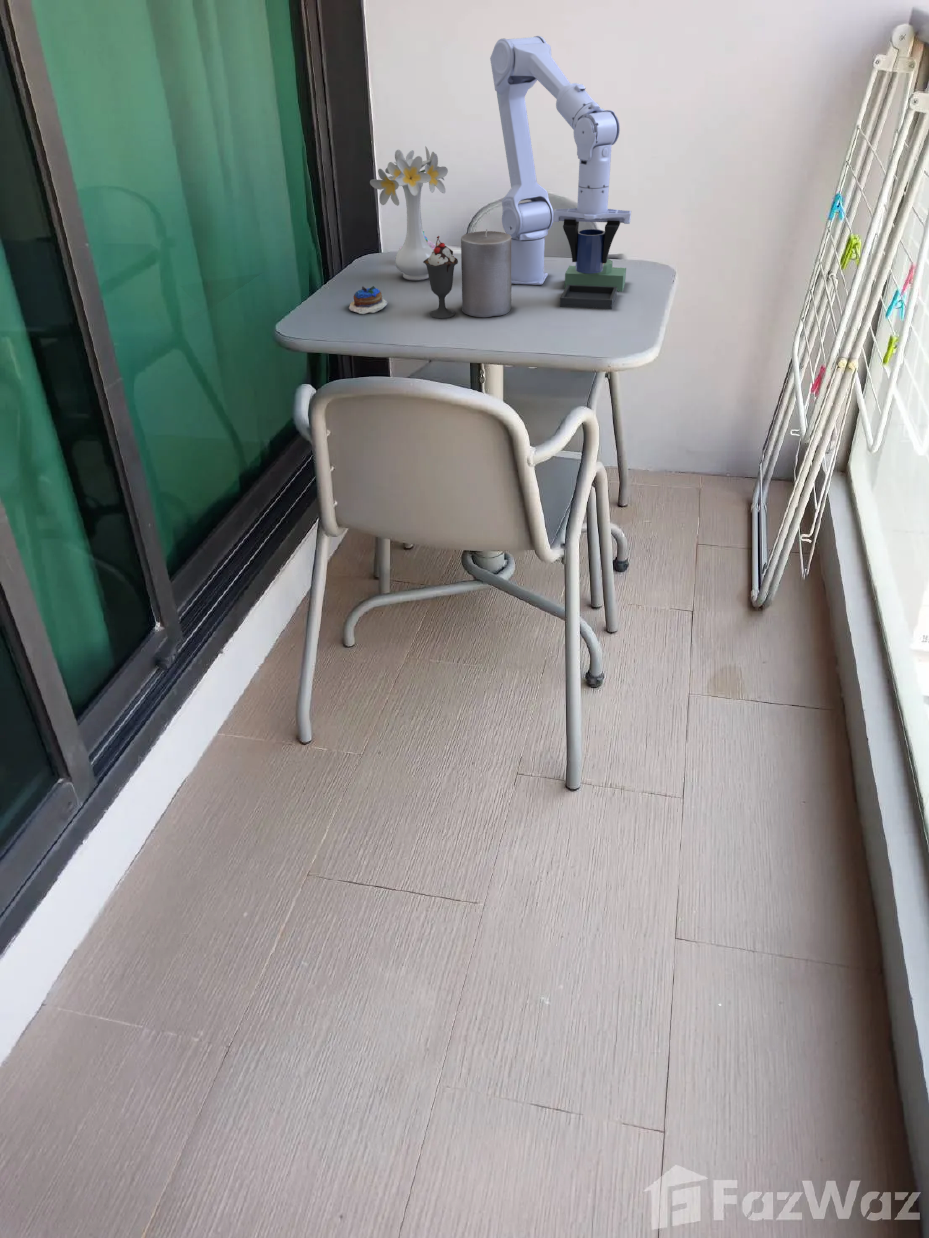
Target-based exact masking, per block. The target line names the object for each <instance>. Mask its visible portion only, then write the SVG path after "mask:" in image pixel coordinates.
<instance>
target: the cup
mask: <svg viewBox="0 0 929 1238" xmlns="http://www.w3.org/2000/svg"><path fill="white" fill-rule="evenodd" d="M604 241H605V230H604V229H603V230H602V229H597V228H584V229H580V230H578V232H577V248H576V262H575V266H576V271H577V272H580V273H586V274H593V273H599V272H601V271H603V252H604Z"/></svg>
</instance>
